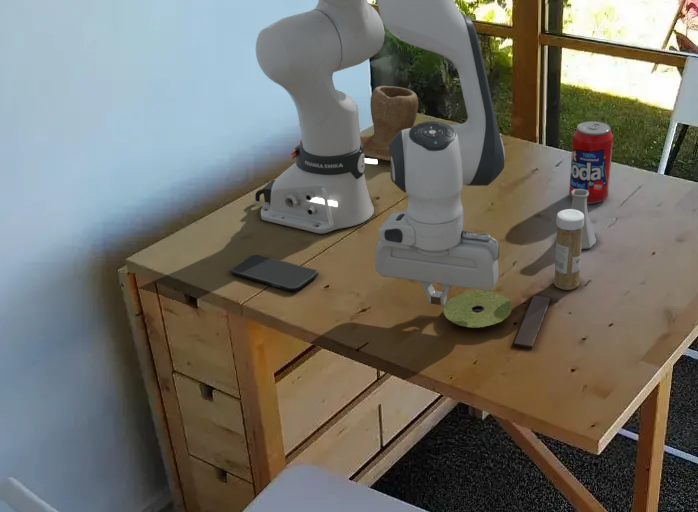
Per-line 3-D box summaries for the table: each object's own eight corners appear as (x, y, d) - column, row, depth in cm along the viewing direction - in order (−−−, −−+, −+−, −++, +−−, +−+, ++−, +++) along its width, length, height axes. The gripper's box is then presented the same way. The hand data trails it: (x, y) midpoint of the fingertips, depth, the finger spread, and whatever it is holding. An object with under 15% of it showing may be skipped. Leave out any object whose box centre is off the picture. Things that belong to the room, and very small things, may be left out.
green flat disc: (499, 341, 148) (499, 331, 147) (433, 330, 152) (433, 320, 151) (520, 305, 157) (520, 295, 156) (457, 296, 160) (457, 286, 159)
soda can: (614, 195, 191) (620, 124, 182) (597, 209, 186) (603, 137, 177) (579, 186, 195) (584, 116, 186) (562, 200, 189) (566, 129, 181)
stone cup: (430, 151, 211) (428, 85, 202) (402, 170, 203) (399, 103, 194) (374, 139, 217) (370, 75, 208) (345, 157, 209) (339, 91, 200)
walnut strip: (513, 346, 148) (513, 343, 147) (533, 298, 159) (533, 295, 159) (532, 349, 147) (532, 345, 147) (551, 300, 158) (551, 297, 158)
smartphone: (254, 252, 172) (320, 270, 166) (255, 257, 173) (321, 275, 166) (227, 270, 167) (294, 289, 161) (228, 274, 167) (295, 294, 161)
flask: (594, 252, 172) (598, 202, 166) (555, 249, 173) (558, 199, 167) (597, 234, 178) (601, 185, 172) (559, 231, 179) (562, 182, 173)
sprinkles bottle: (583, 289, 161) (588, 218, 153) (557, 292, 161) (561, 221, 153) (574, 276, 165) (579, 206, 157) (549, 279, 164) (553, 209, 156)
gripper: (504, 227, 147) (503, 302, 155) (382, 212, 152) (387, 285, 160) (494, 245, 142) (493, 322, 150) (368, 229, 147) (374, 304, 155)
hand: (437, 303), depth 155 cm, fingers closed
